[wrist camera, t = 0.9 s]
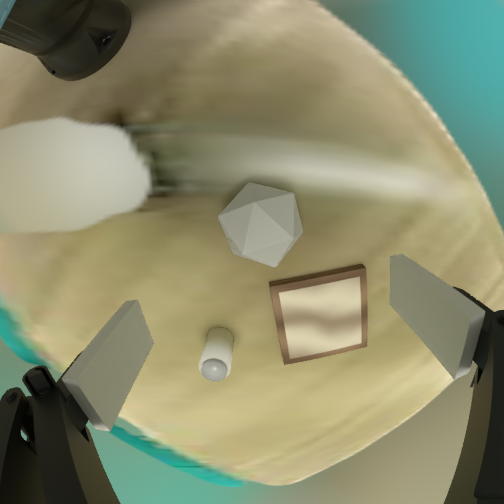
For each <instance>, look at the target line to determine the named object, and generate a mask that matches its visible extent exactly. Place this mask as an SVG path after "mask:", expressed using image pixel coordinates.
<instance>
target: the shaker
mask: <svg viewBox="0 0 504 504" xmlns="http://www.w3.org/2000/svg"><path fill="white" fill-rule="evenodd" d="M233 343H234V336H233V334H232V333H231V332H230V331H229V330H228V329H226V328H223V327H216V328H213V329H211V330H210V331H209V332H208V334H207V337H206V341H205V345H204V348H203V352H202V356H201V359H200V363H199V369H200V371H201V373H202V375H203V376H204V377H205V378H206V379H208V380H211V381H221V380H223V379H224V378H225V377H227V376H228V375H229V373H230V370H231V361H232V352H233Z"/></svg>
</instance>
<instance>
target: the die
mask: <svg viewBox="0 0 504 504" xmlns="http://www.w3.org/2000/svg"><path fill="white" fill-rule="evenodd" d="M218 219H219V221H220V224H221V226H222V228H223V231H224V233H225V236H226V238H227V240H228V243H229V245H230V247H231V250H232V252H233V254H235V255H238V256H241V257H244V258H247V259H250V260H253V261H256V262H259V263H263V264H266V265H269V266H272V267H276V266H277V265H278V264H279V263H280V261H281V260H282V259H283V258H284V256H285V255H286V254H287V252H288V251H289V250H290V249H291V247H292V246H293V245H294V244H295V242H296V241H297V240H298V239H299V237H300V236H301V235H302V234H303V229H302V225H301V220H300V216H299V212H298V208H297V204H296V199H295V195H294V193H292V192H288V191H284V190H280V189H276V188H272V187H268V186H264V185H260V184H255V183H251V182H248V183H247V184H246V186H245V187H244V188H243V189H242V190H241V191H240V192H239V193H238V194H237V195H236V197H235V198H234V199H233V200H232V201H231V202H230V203H229V204H228V205H227V207H226V208H225V209H224V210H223V211H222V212H221V213H220V214H219V216H218Z"/></svg>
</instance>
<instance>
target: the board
mask: <svg viewBox="0 0 504 504" xmlns="http://www.w3.org/2000/svg"><path fill="white" fill-rule="evenodd" d="M269 284H270V290H271V296H272V301H273V307H274V312H275V317H276V323H277V328H278V334H279V339H280V345H281V350H282V356H283V362H284V365H286V364H291V363H297V362H302V361H307V360H312V359H317V358H322V357H326V356H331V355H335V354H339V353H343V352H347V351H351V350H355V349H359V348H363V347H367V279H366V267H365V266H364V265H362V264H360V265H356V266H351V267H346V268H341V269H336V270H332V271H327V272H322V273H317V274H311V275H306V276H301V277H296V278H291V279H285V280H280V281H275V282H269Z"/></svg>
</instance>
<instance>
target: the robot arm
mask: <svg viewBox="0 0 504 504" xmlns="http://www.w3.org/2000/svg"><path fill="white" fill-rule="evenodd" d="M130 24H131V16H130V12H129V10H128V8H127V7H126V6H125V5H124V4H123V3H122V1H120V0H0V43H3V44H6V45H9V46H11V47H14V48H17V49H20V50H22V51H25V52H28V53H31V54H33V55H35V56H37V58H38V59H39V60H40V61H41V63H42V64H43V65H44V66H45V68H46V69H47V70H48V71H49V73H51V74H52V75H53V76H55V77H58V78H60V79H63V80H67V81H74V80H79V79H82V78H85V77H87V76H89V75H91V74H92V73H94V72H96V71H97V70H99V69H100V68H101V67H103V66H104V65H105V64H106V63H107V62H108V61H109V60H110V59H111V58H112V57H113V56H114V55H115V54H116V52H117V51H118V50H119V49H120V47H121V46H122V44H123V42H124V41H125V39H126V37H127V34H128V32H129V29H130ZM390 305H391V306H392V307H393V309H394V310H395V311H396V312H397V313H398V314H399V315H400V316H401V317H402V318H403V320H404V321H405V322H406V323H407V324H408V325H409V326H410V327H411V329H412V330H413V331H414V332H415V333H416V334H417V335H418V337H419V338H420V339H421V340H422V341H423V342H424V344H425V345H426V346H427V347H428V348H429V349H430V351H431V352H432V353H433V354H434V355H435V357H436V358H437V359H438V360H439V361H440V363H441V364H442V365H443V366H444V367H445V369H446V370H447V371H448V372H449V374H450V375H451V376H452V377H453V379H454V380H455V379H457V378H459V377H461V376H463V375H465V374H467V373H469V370H470V367H471V364H472V361H474V362H475V363H476V364H477V365H478V367H477V369H476V373H475V375H474V378H473V381H472V383H471V386H470V387H473V384H474V389H473V397H472V403H471V409H470V415H469V420H468V425H467V430H466V434H465V439H464V443H463V447H462V451H461V455H460V458H459V461H458V465H457V468H456V471H455V474H454V477H453V480H452V483H451V486H450V489H449V491H448V494H447V497H446V499H445V502H444V504H504V310H499V311H496V312H493V311H492V310H491V309H489V308H488V307H487V306H485V305H484V304H483V303H481V302H480V301H478V300H476V298H474V297H473V296H470V294H469V293H467V292H466V291H464V290H462V289H460V288H457V287H451V286H450V285H449V284H447V283H446V282H444V281H443V280H441V279H440V278H438V277H437V276H435V275H434V274H433V273H431V272H430V271H428V270H427V269H425V268H423V267H422V266H420V265H419V264H417V263H416V262H414V261H413V260H411V259H410V258H408V257H407V256H405V255H403V254H399V255H394V256H390ZM153 344H154V342H153V339H152V337H151V334H150V331H149V329H148V326H147V324H146V321H145V318H144V316H143V313H142V310H141V307H140V304H139V302H138V300H131V301H126V302H125V303H124V304H123V305H122V306H121V307H120V308H119V309H118V311H117V312H116V313H115V314H114V315H113V316H112V318H111V319H110V320H109V321H108V322H107V323H106V324H105V326H104V327H103V328H102V329H101V330H100V332H99V333H98V334H97V335H96V336H95V338H94V339H93V340H92V341H91V342H90V344H89V345H88V346H87V347H86V348H85V350H84V351H82V352H81V353H80V354H79V355H78V356H77V357H76V358H75V360H74V362H72V363H71V365H70V367H68V368H67V370H66V371H65V372H64V373H63V375H62V376H61V377H60V379H59V380H58V381H57V382H55V380H54V379H53V377H52V375H51V374H50V372H49V370H48V368H47V367H46V366H37V367H34V368H32V369H30V370H29V371H28V372H27V373H26V374H25V375H24V376H23V379H22V381H23V382H24V384H25V386H26V387H27V389H28V390H29V392H30V393H31V395H32V396H27V397H26V396H25V394H24V393H23V391H22V390H21V389H20V388H18V387H16V388H12V389H9V390H7V391H6V393H5V394H4V395H3V396H2V398H1V400H0V504H120V502H119V500H118V498H117V496H116V494H115V492H114V490H113V488H112V486H111V484H110V481H109V479H108V477H107V475H106V472H105V470H104V468H103V465H102V464H101V461H100V458H99V455H98V453H97V450H96V448H95V445H94V442H93V439H92V436H91V434H90V431H89V429H88V428H87V427H86V424H87V422H88V420H90V422H91V423H92V425H93V426H94V427H95V429H98V430H104V431H111V429H112V427H113V425H114V423H115V420H116V418H117V416H118V414H119V412H120V410H121V408H122V406H123V404H124V402H125V400H126V398H127V396H128V394H129V392H130V390H131V388H132V386H133V384H134V382H135V380H136V378H137V376H138V374H139V372H140V370H141V368H142V366H143V364H144V362H145V360H146V358H147V356H148V354H149V352H150V350H151V348H152V346H153ZM21 430H22V431H23V432H24V433H25V435H26V436H27V440H26V441H25V440H24V439H23V438H22V436H21Z"/></svg>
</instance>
